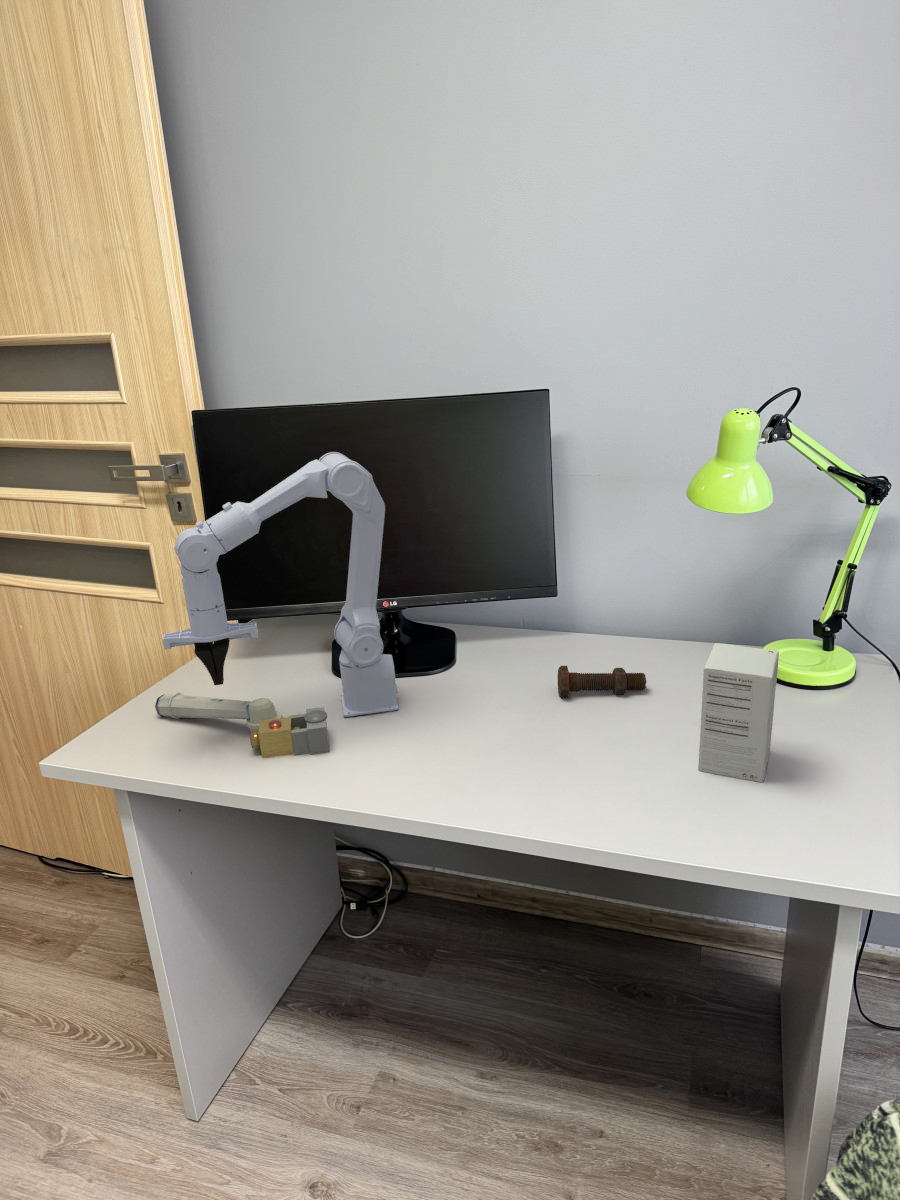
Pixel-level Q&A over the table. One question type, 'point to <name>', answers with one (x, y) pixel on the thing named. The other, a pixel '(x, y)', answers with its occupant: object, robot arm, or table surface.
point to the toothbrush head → (216, 708)
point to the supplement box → (737, 711)
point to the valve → (274, 737)
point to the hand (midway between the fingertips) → (219, 682)
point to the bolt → (599, 681)
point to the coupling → (310, 732)
